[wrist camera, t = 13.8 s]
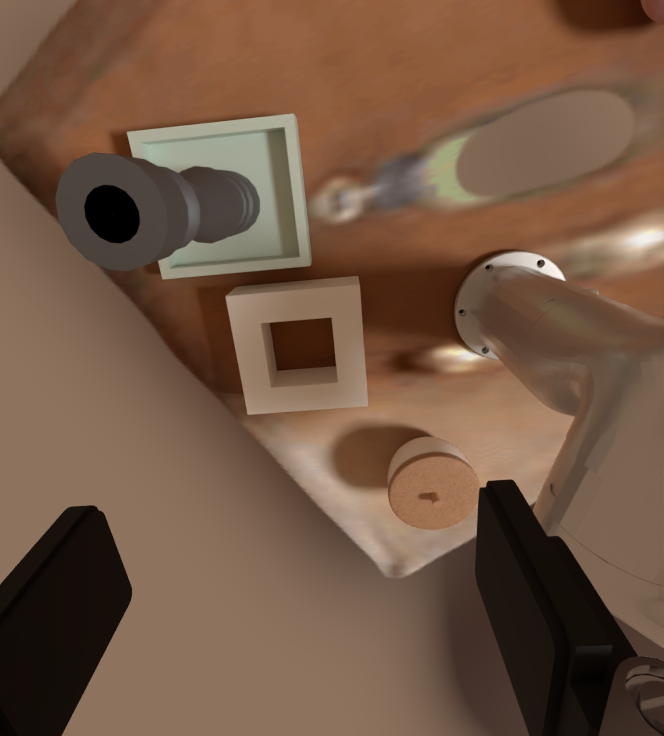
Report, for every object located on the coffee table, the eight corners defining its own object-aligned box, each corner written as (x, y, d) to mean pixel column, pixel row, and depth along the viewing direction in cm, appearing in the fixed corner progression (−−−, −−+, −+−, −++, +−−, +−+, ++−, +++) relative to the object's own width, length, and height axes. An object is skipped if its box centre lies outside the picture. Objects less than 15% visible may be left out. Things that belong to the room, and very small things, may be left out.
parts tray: (296, 118, 42) (293, 113, 39) (312, 261, 48) (310, 266, 45) (140, 135, 43) (126, 131, 40) (172, 274, 48) (162, 279, 46)
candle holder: (222, 157, 43) (83, 115, 20) (272, 198, 44) (196, 204, 21) (190, 208, 45) (29, 224, 22) (239, 246, 46) (136, 299, 23)
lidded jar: (474, 471, 58) (498, 520, 49) (402, 500, 60) (413, 552, 51) (444, 409, 54) (464, 451, 46) (369, 442, 56) (374, 487, 48)
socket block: (358, 275, 48) (359, 284, 43) (365, 387, 53) (368, 406, 49) (236, 286, 49) (225, 296, 44) (255, 395, 54) (247, 414, 49)
